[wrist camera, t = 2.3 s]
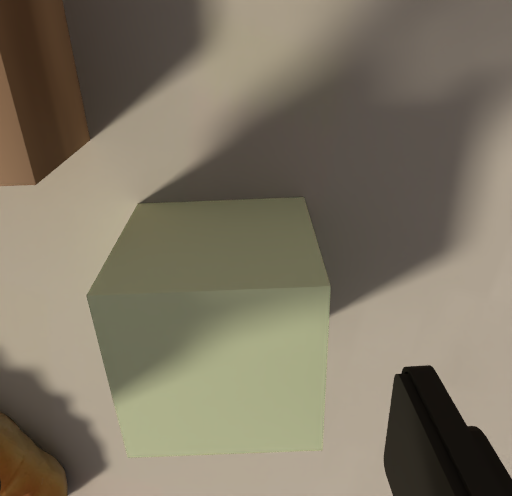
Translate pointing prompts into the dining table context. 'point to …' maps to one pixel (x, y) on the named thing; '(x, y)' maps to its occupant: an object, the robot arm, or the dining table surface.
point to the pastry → (27, 465)
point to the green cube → (215, 328)
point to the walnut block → (37, 92)
